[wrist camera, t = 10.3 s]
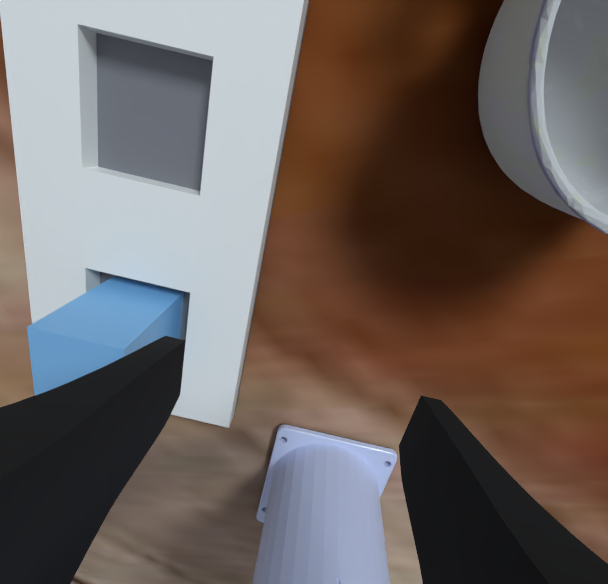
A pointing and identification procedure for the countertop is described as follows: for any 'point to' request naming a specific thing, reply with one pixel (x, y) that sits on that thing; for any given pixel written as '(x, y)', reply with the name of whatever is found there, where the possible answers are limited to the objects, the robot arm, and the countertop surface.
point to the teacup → (550, 102)
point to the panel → (154, 159)
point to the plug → (100, 329)
